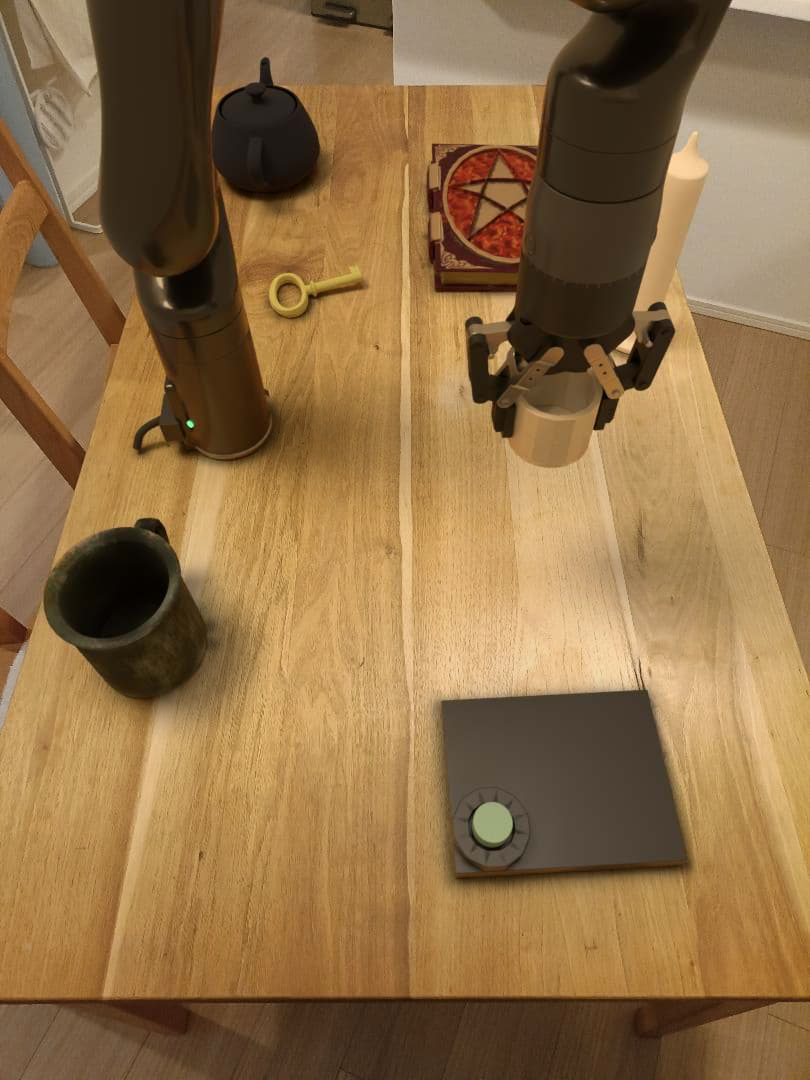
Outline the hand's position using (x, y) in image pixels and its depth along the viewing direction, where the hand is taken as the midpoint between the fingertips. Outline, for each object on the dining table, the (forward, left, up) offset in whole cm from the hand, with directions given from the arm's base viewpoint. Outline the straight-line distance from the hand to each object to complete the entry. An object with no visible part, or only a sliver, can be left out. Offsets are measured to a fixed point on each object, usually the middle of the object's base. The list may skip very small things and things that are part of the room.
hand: (549, 425), depth 59 cm
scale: (0, -22, -20) cm, 30 cm away
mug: (-35, -6, -20) cm, 41 cm away
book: (+5, +54, -20) cm, 58 cm away
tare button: (-6, -26, -17) cm, 31 cm away
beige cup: (0, 0, -1) cm, 1 cm away
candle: (+18, +31, -20) cm, 41 cm away
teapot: (-28, +70, -20) cm, 78 cm away
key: (-21, +41, -20) cm, 51 cm away
